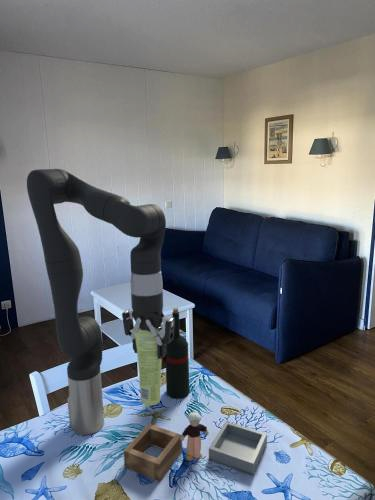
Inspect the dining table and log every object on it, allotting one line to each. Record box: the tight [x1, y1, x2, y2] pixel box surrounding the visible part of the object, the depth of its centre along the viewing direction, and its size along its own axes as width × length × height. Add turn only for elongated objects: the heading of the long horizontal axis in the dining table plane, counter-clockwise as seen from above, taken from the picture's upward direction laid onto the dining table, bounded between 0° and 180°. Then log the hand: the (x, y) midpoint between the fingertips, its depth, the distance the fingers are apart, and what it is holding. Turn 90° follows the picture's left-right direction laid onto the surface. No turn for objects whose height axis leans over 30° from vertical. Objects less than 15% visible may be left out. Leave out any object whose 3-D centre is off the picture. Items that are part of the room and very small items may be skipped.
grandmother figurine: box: [180, 411, 210, 462], centre depth 99 cm, size 8×4×13 cm, turn 117°
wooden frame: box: [123, 423, 183, 483], centre depth 98 cm, size 10×12×5 cm
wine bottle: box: [161, 307, 191, 400], centre depth 125 cm, size 8×10×30 cm
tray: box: [208, 421, 268, 477], centre depth 100 cm, size 12×12×4 cm
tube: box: [134, 328, 165, 406], centre depth 93 cm, size 6×5×20 cm
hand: (149, 354), depth 93 cm, fingers closed on tube, 6 cm apart
